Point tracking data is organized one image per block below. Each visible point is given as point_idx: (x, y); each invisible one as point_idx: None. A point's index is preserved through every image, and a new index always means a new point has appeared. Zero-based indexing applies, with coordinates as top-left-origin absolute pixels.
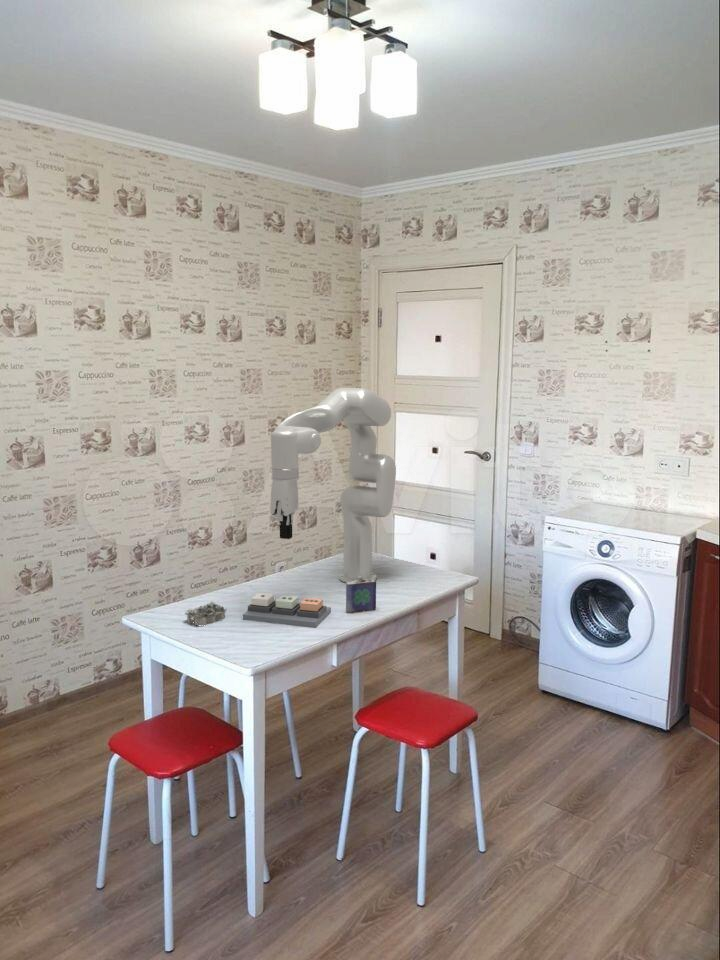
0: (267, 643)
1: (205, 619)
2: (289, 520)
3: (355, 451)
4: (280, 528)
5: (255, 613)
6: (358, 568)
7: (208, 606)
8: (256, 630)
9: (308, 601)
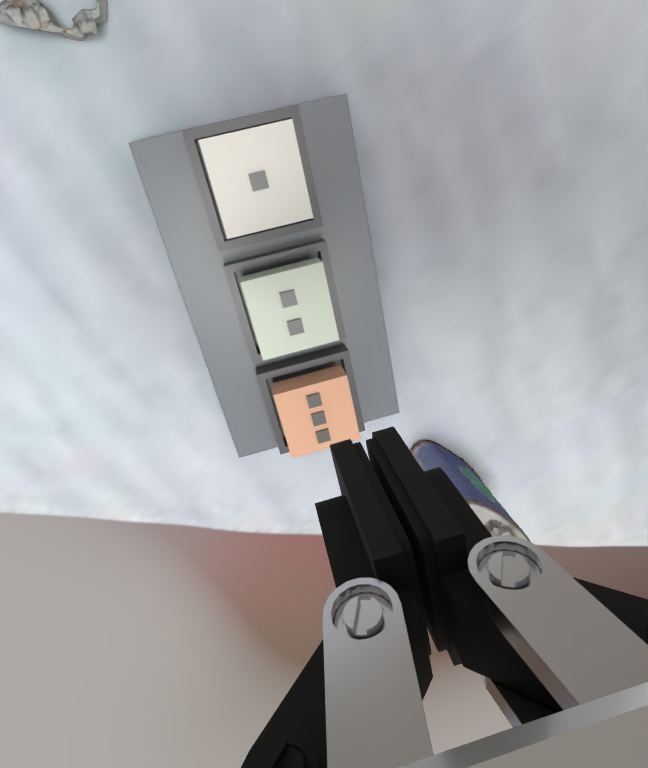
0: (7, 408)
1: None
2: (503, 683)
3: None
4: (359, 526)
5: (180, 192)
6: None
7: None
8: (76, 289)
9: (307, 411)
